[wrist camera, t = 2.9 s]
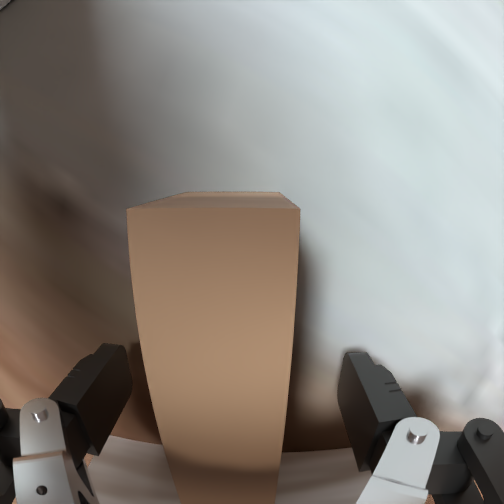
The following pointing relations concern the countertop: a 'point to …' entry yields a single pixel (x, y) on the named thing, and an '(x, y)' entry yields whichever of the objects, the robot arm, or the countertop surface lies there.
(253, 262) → the slab on base
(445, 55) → the countertop surface
